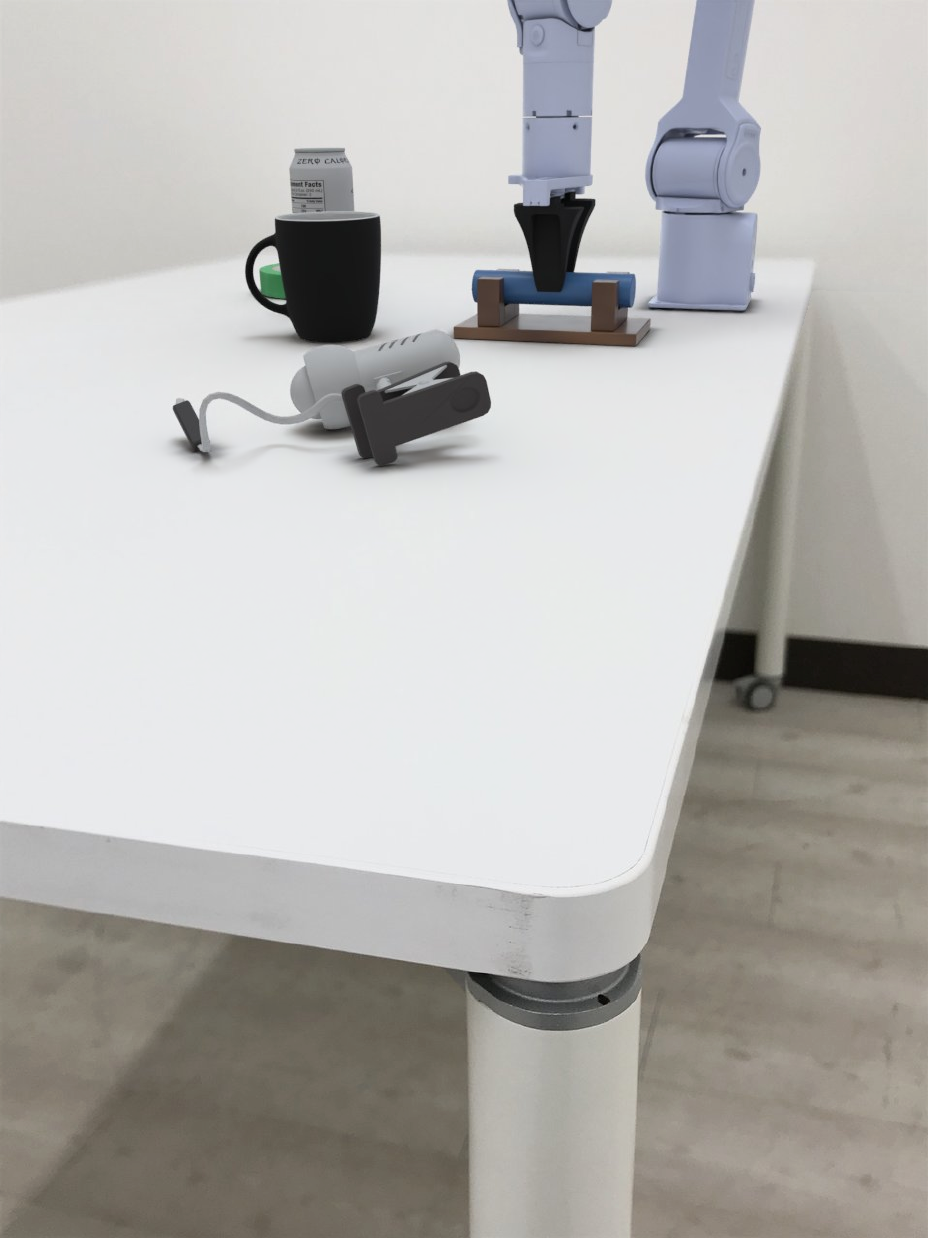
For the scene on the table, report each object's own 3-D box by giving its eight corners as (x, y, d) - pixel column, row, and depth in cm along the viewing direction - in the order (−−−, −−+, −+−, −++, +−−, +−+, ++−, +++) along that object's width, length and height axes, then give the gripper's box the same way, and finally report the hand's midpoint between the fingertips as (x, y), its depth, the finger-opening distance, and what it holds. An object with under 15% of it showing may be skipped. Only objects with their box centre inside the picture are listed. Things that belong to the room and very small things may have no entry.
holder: (650, 329, 99) (653, 271, 97) (635, 346, 92) (639, 284, 90) (479, 322, 104) (479, 267, 102) (453, 338, 97) (452, 278, 95)
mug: (390, 327, 102) (386, 210, 98) (379, 345, 94) (373, 219, 90) (262, 327, 103) (252, 211, 98) (239, 346, 95) (227, 221, 90)
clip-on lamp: (193, 529, 62) (502, 440, 62) (151, 424, 58) (479, 332, 59) (196, 452, 72) (463, 376, 72) (161, 359, 68) (441, 281, 69)
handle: (634, 305, 96) (636, 271, 95) (629, 309, 94) (631, 275, 93) (480, 300, 100) (480, 267, 99) (471, 304, 98) (471, 271, 96)
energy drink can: (370, 310, 111) (362, 147, 105) (316, 316, 108) (305, 149, 102) (341, 302, 116) (332, 146, 109) (289, 308, 113) (277, 148, 106)
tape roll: (355, 298, 118) (354, 272, 117) (252, 299, 118) (250, 274, 117) (365, 284, 128) (364, 259, 127) (270, 285, 128) (268, 261, 127)
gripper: (531, 117, 98) (529, 276, 104) (485, 118, 86) (486, 299, 91) (610, 116, 96) (604, 278, 102) (575, 117, 84) (570, 302, 89)
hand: (553, 288), depth 96 cm, fingers closed on handle, 3 cm apart
